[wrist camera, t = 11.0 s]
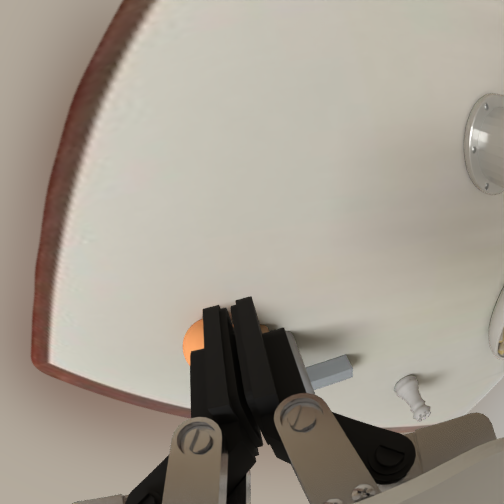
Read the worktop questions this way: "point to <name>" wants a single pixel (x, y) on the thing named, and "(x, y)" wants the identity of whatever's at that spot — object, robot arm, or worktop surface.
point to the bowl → (497, 328)
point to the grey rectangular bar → (330, 372)
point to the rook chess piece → (412, 396)
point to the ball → (193, 339)
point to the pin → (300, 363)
